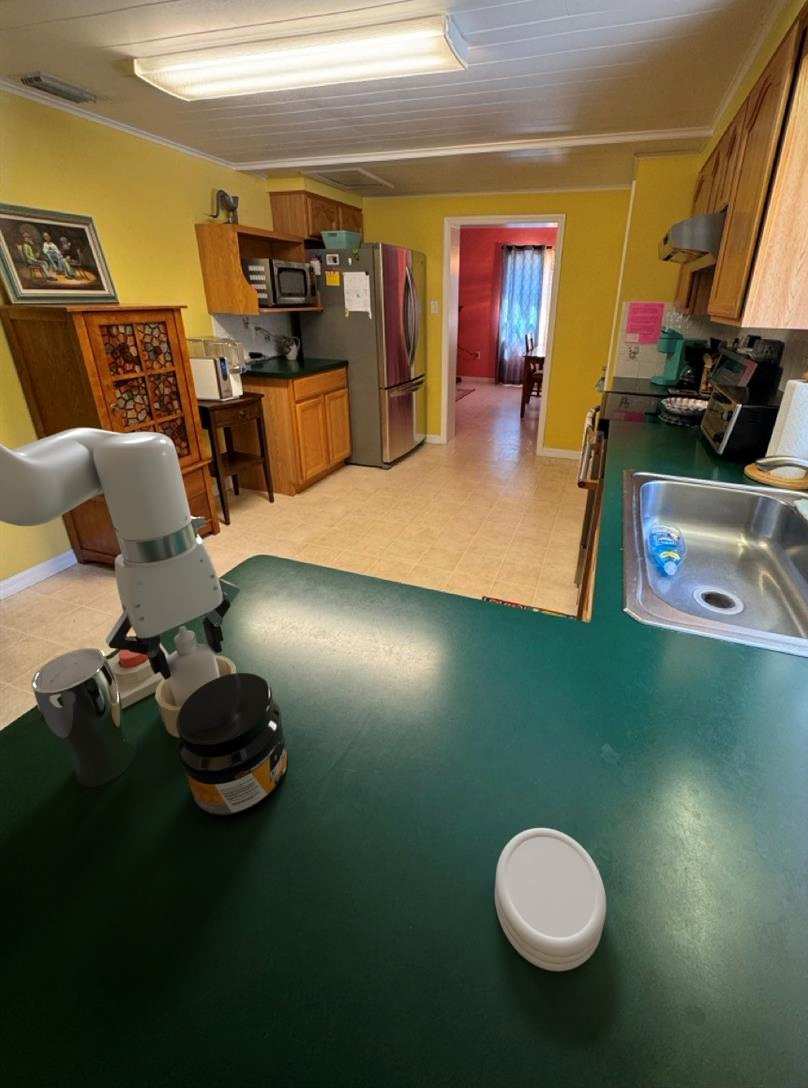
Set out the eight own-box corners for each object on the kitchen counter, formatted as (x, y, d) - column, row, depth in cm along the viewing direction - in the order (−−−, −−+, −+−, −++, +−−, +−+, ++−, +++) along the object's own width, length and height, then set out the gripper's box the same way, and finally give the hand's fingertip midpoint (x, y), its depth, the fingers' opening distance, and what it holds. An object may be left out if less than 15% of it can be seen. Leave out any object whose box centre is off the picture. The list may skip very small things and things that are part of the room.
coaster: (623, 957, 41) (629, 934, 40) (514, 989, 39) (517, 967, 38) (572, 837, 50) (576, 815, 49) (482, 858, 48) (483, 836, 47)
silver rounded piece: (88, 803, 53) (44, 704, 47) (60, 772, 56) (17, 676, 51) (151, 755, 58) (119, 661, 53) (123, 729, 62) (90, 638, 56)
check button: (118, 659, 69) (115, 650, 69) (145, 647, 72) (142, 638, 71) (125, 672, 67) (122, 662, 66) (153, 658, 69) (150, 649, 69)
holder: (153, 709, 65) (145, 681, 63) (223, 671, 71) (217, 645, 69) (180, 752, 59) (171, 723, 57) (253, 706, 65) (248, 679, 63)
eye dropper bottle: (189, 685, 67) (170, 616, 62) (228, 686, 66) (212, 617, 62) (171, 710, 62) (149, 638, 58) (212, 712, 62) (194, 640, 58)
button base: (100, 672, 71) (94, 654, 70) (159, 646, 76) (153, 628, 75) (120, 710, 65) (113, 691, 63) (182, 678, 70) (177, 659, 69)
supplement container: (251, 839, 50) (231, 760, 45) (171, 809, 52) (145, 731, 48) (307, 752, 59) (295, 679, 54) (237, 731, 62) (220, 660, 57)
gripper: (219, 507, 63) (241, 617, 70) (60, 555, 51) (105, 681, 58) (245, 525, 58) (266, 640, 65) (76, 582, 47) (123, 716, 54)
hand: (190, 658), depth 62 cm, fingers closed on eye dropper bottle, 5 cm apart
